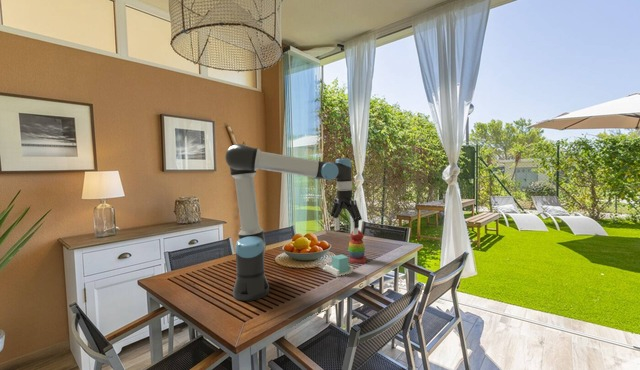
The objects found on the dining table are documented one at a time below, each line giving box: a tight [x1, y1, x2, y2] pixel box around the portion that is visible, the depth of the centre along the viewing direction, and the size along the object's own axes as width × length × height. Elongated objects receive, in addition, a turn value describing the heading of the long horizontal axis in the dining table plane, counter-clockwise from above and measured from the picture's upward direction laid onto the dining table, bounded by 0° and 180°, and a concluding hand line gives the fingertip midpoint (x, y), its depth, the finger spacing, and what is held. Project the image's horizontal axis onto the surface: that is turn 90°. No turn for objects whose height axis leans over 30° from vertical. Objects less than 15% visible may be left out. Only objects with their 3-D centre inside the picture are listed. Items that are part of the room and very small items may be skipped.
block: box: [331, 253, 350, 273], centre depth 145 cm, size 6×6×7 cm
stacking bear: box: [347, 229, 367, 265], centre depth 163 cm, size 11×10×18 cm
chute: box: [317, 262, 354, 277], centre depth 151 cm, size 10×20×3 cm, turn 33°
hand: (346, 232), depth 142 cm, fingers open, 13 cm apart
